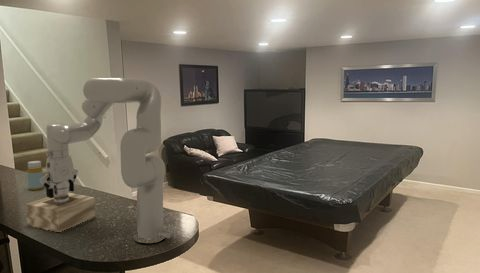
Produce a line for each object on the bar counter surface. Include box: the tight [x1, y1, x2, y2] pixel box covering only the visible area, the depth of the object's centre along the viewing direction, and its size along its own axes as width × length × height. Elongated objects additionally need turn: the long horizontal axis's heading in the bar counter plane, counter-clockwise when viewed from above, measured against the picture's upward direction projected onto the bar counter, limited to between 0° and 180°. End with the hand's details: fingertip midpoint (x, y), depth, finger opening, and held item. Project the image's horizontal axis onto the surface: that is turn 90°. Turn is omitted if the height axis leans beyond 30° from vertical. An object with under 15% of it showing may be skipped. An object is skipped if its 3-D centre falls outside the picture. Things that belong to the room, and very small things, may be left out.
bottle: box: [27, 160, 44, 191], centre depth 185 cm, size 7×7×15 cm
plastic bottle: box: [52, 180, 70, 206], centre depth 141 cm, size 6×7×20 cm
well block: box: [25, 192, 96, 233], centre depth 142 cm, size 18×18×9 cm
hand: (60, 194), depth 141 cm, fingers open, 9 cm apart
